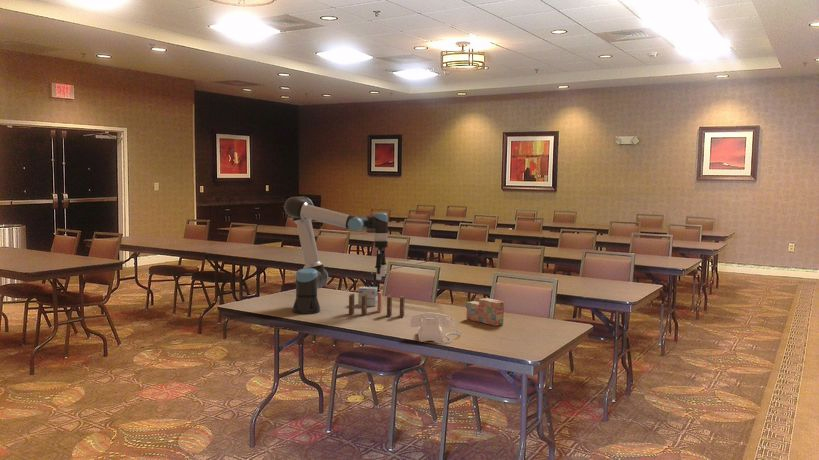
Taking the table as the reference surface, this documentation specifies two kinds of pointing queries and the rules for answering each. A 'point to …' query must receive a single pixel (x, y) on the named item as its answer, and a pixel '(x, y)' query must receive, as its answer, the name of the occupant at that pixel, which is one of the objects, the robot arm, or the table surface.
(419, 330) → the telephone
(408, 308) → the table surface
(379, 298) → the terracotta domino
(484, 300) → the stack of blocks
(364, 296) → the walnut domino
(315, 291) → the robot arm
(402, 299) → the walnut domino
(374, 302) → the light bulb box
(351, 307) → the walnut domino
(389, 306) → the walnut domino
